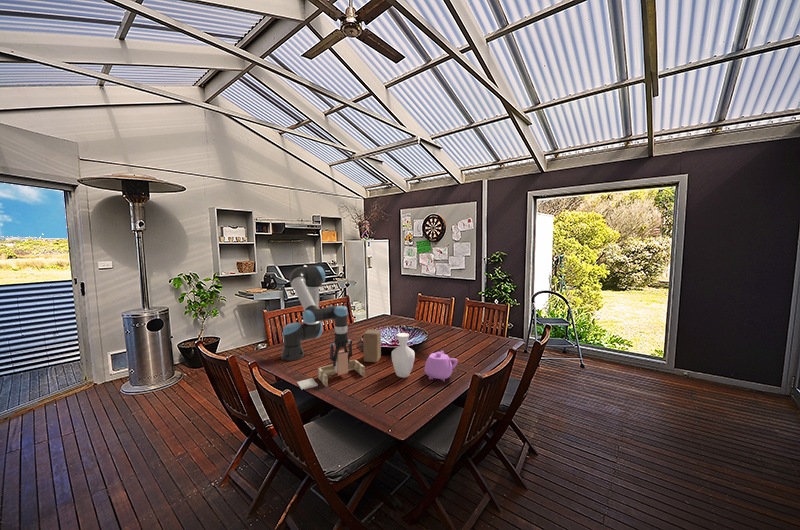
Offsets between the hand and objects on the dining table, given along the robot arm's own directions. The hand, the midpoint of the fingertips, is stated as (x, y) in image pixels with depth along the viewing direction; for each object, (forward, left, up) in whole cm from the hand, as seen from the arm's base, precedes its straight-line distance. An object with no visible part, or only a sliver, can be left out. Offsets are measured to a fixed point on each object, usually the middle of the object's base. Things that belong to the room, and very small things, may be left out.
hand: (341, 369), depth 180 cm
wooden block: (-13, +28, -5) cm, 31 cm away
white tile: (-1, -20, -4) cm, 21 cm away
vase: (+18, +33, -5) cm, 38 cm away
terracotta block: (0, 0, -1) cm, 1 cm away
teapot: (+32, +52, -5) cm, 61 cm away
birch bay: (+1, 0, -4) cm, 5 cm away
